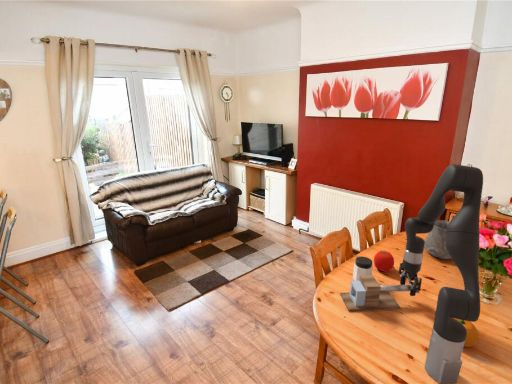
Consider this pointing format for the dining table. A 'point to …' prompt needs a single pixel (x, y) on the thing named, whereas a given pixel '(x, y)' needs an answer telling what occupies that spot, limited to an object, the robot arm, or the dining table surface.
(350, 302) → the bearing block
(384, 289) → the shaft
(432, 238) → the vessel
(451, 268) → the dining table surface
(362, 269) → the jar
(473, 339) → the fruit
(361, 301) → the block
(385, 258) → the tomato
